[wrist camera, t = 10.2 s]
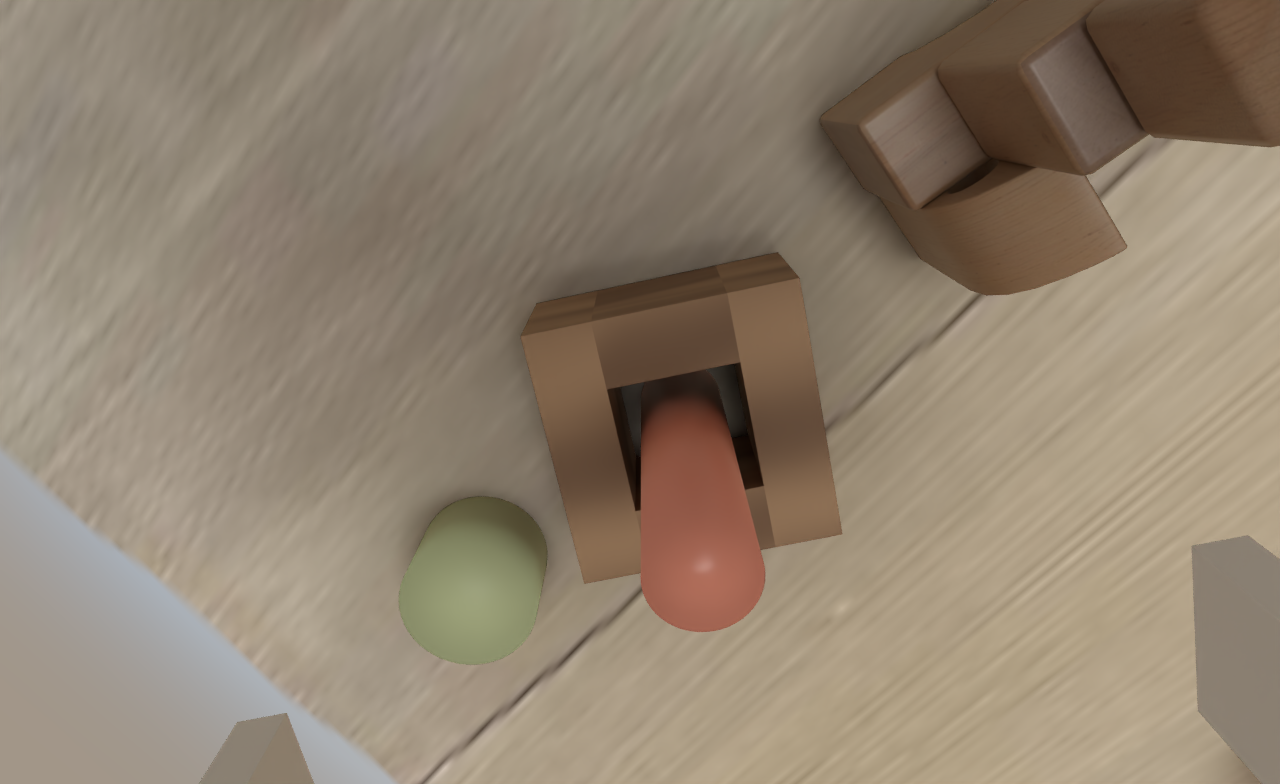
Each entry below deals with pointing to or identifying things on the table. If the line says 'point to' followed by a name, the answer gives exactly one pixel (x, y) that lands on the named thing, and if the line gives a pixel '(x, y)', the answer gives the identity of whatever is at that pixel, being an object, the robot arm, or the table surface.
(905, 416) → the table surface
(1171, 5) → the wooden toy
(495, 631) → the olive green rounded piece
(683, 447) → the pink capsule rod
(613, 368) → the square wooden frame
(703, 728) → the table surface
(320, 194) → the table surface
